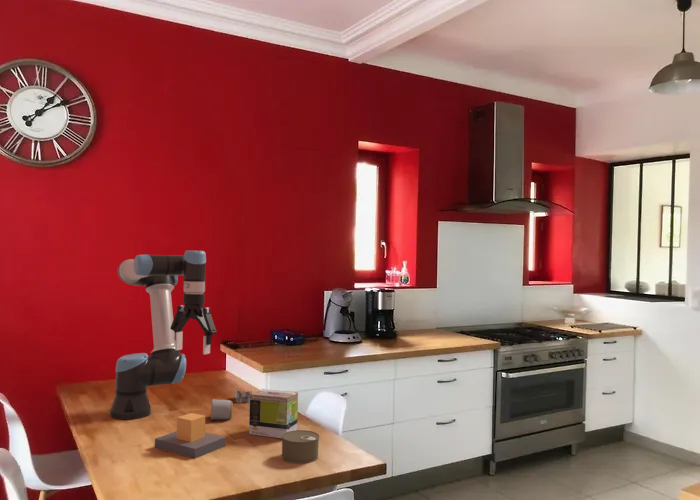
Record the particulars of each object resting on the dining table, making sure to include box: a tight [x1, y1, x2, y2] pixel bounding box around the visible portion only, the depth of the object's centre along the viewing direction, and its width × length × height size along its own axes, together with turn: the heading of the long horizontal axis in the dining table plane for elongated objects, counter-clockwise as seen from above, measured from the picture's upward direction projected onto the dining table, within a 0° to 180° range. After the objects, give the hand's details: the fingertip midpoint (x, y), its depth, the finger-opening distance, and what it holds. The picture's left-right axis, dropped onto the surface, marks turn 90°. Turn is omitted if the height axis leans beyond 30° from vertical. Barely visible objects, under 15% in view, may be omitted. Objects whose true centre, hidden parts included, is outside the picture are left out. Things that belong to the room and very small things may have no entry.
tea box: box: [248, 388, 299, 439], centre depth 207 cm, size 15×10×15 cm, turn 71°
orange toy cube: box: [176, 412, 206, 442], centre depth 191 cm, size 6×6×7 cm
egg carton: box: [234, 388, 253, 404], centre depth 253 cm, size 11×8×4 cm
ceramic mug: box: [210, 398, 233, 421], centre depth 225 cm, size 11×8×8 cm
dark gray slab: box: [154, 430, 227, 459], centre depth 191 cm, size 18×14×3 cm
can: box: [281, 429, 320, 465], centre depth 184 cm, size 12×12×7 cm
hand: (192, 351), depth 207 cm, fingers open, 13 cm apart
